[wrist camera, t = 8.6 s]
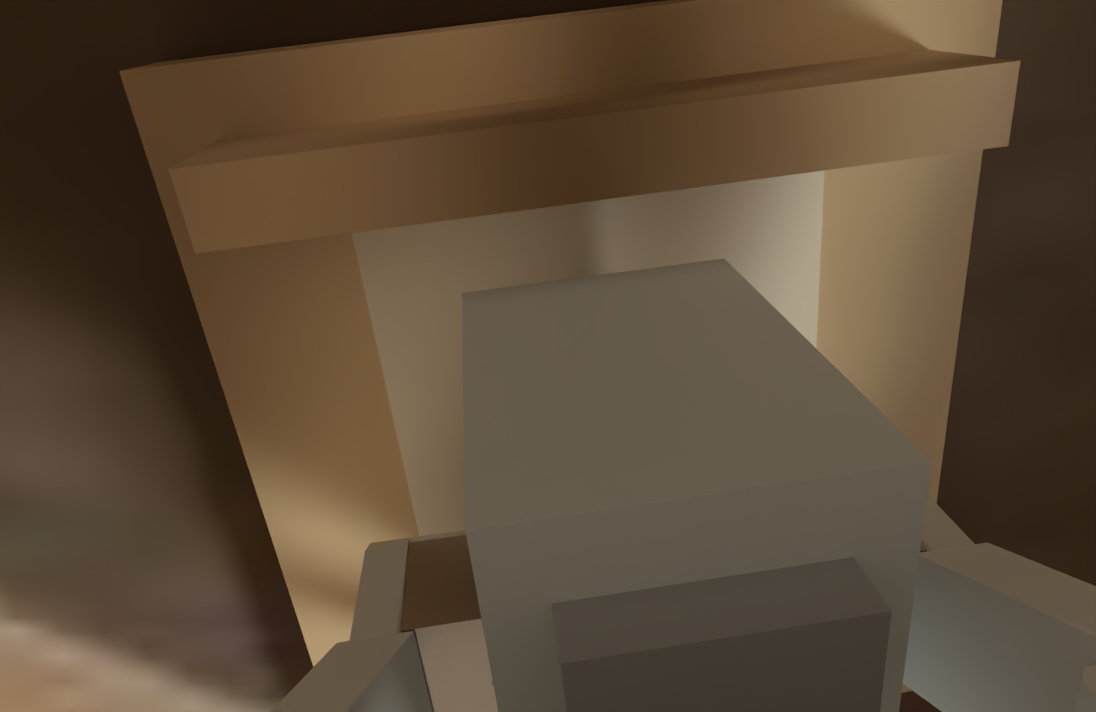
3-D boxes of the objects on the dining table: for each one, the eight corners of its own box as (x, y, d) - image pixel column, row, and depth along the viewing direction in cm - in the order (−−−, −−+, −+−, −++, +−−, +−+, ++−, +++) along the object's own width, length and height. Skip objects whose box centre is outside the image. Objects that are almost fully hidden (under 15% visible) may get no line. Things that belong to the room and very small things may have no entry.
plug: (724, 258, 10) (980, 509, 5) (725, 602, 13) (898, 994, 8) (461, 293, 10) (466, 587, 5) (516, 635, 13) (555, 1059, 8)
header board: (946, -34, 12) (1287, -54, 7) (878, 638, 18) (1036, 884, 13) (159, 62, 11) (-73, 114, 6) (359, 721, 17) (319, 1010, 13)
